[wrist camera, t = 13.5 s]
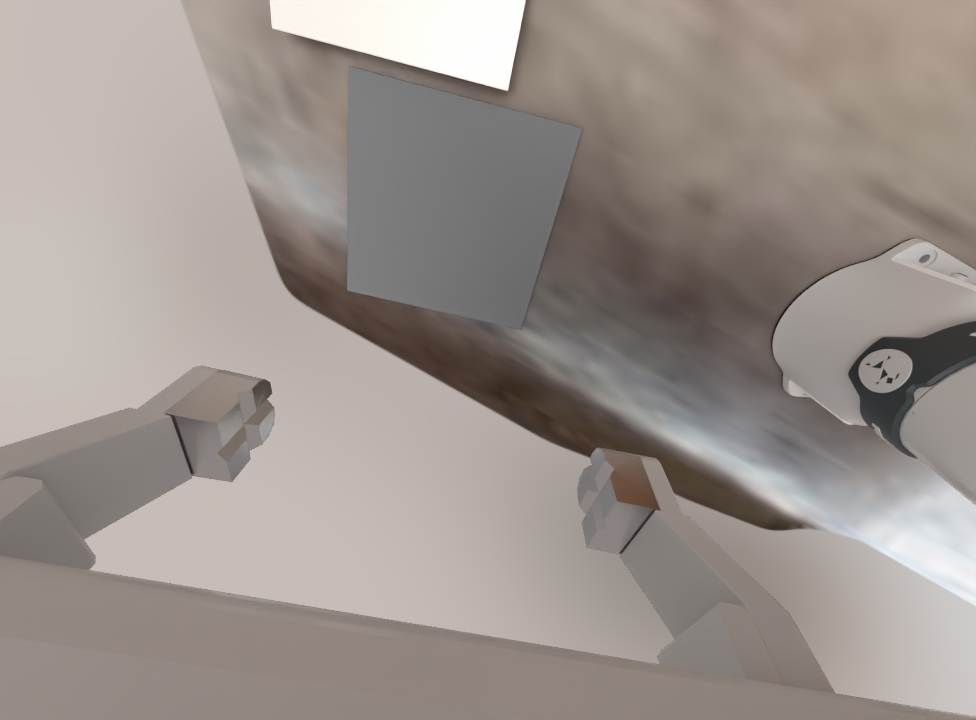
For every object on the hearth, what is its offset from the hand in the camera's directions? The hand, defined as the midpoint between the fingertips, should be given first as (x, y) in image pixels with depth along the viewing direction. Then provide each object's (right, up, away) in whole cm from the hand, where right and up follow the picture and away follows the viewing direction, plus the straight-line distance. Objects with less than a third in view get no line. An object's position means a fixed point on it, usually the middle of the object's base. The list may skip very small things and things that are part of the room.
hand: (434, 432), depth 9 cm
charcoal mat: (-2, +16, +27) cm, 31 cm away
